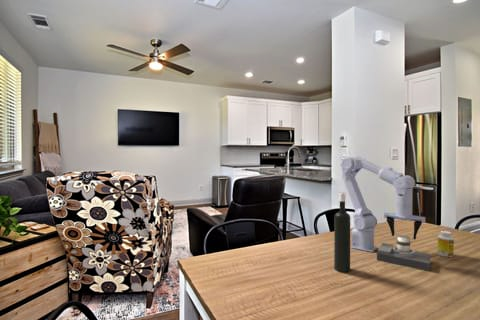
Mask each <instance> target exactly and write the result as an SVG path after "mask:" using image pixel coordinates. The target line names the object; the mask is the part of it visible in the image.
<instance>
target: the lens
mask: <svg viewBox="0 0 480 320" xmlns="http://www.w3.org/2000/svg"><path fill="white" fill-rule="evenodd" d="M396 247H397V251H400V252H405V253H410V249H411V237H410V236H408V235H402V234H401V235H400V234H399V235H397V236H396Z"/></svg>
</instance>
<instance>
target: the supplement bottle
mask: <svg viewBox="0 0 480 320" xmlns="http://www.w3.org/2000/svg"><path fill="white" fill-rule="evenodd" d="M454 243H455V238H454V237H453V235H452V232H451V231H448V230H441V231H440V232H439V235H437V254H438V255H439V256H442V257H446V258H452V257H454V253H455V252H454V250H455V249H454V248H455V245H454Z"/></svg>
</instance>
